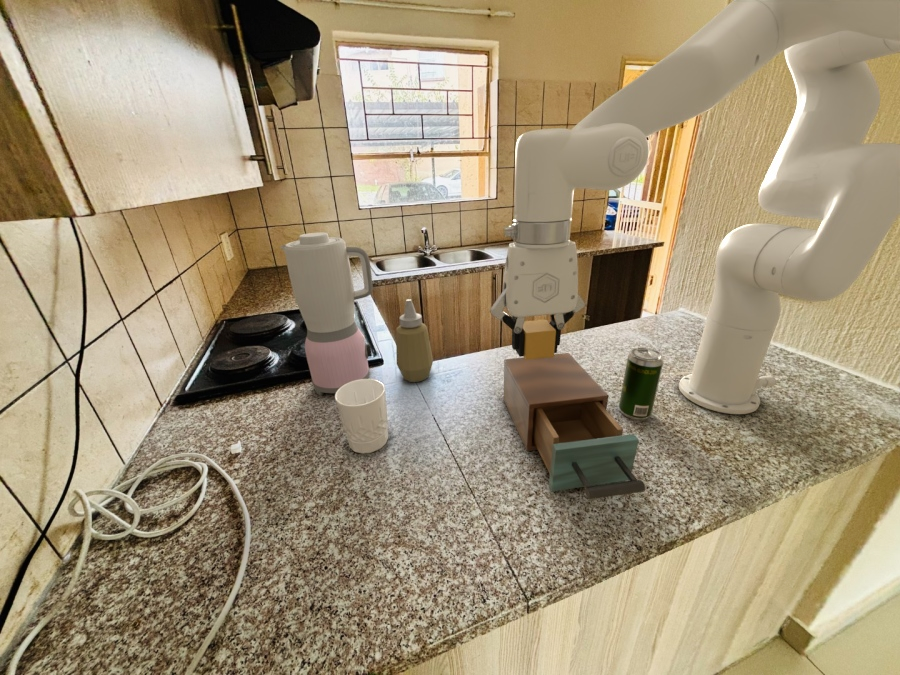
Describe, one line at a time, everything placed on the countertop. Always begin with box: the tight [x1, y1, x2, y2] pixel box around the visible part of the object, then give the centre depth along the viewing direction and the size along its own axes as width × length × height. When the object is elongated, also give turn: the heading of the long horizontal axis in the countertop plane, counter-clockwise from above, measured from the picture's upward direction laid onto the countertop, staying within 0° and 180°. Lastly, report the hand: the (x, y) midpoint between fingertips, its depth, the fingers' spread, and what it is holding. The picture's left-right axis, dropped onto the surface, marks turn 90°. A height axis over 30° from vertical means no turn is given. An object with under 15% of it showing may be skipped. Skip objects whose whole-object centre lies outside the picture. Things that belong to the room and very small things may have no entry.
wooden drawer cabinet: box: [502, 352, 609, 452], centre depth 63 cm, size 15×13×9 cm
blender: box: [279, 231, 374, 396], centre depth 73 cm, size 16×12×32 cm
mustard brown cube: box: [522, 319, 556, 360], centre depth 56 cm, size 4×4×4 cm
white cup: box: [334, 378, 389, 455], centre depth 60 cm, size 8×8×10 cm
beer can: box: [618, 346, 664, 421], centre depth 63 cm, size 5×5×12 cm
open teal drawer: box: [532, 401, 646, 500], centre depth 52 cm, size 19×11×7 cm, turn 7°
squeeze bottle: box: [395, 298, 434, 383], centre depth 77 cm, size 8×8×18 cm
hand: (535, 349), depth 57 cm, fingers closed on mustard brown cube, 4 cm apart
